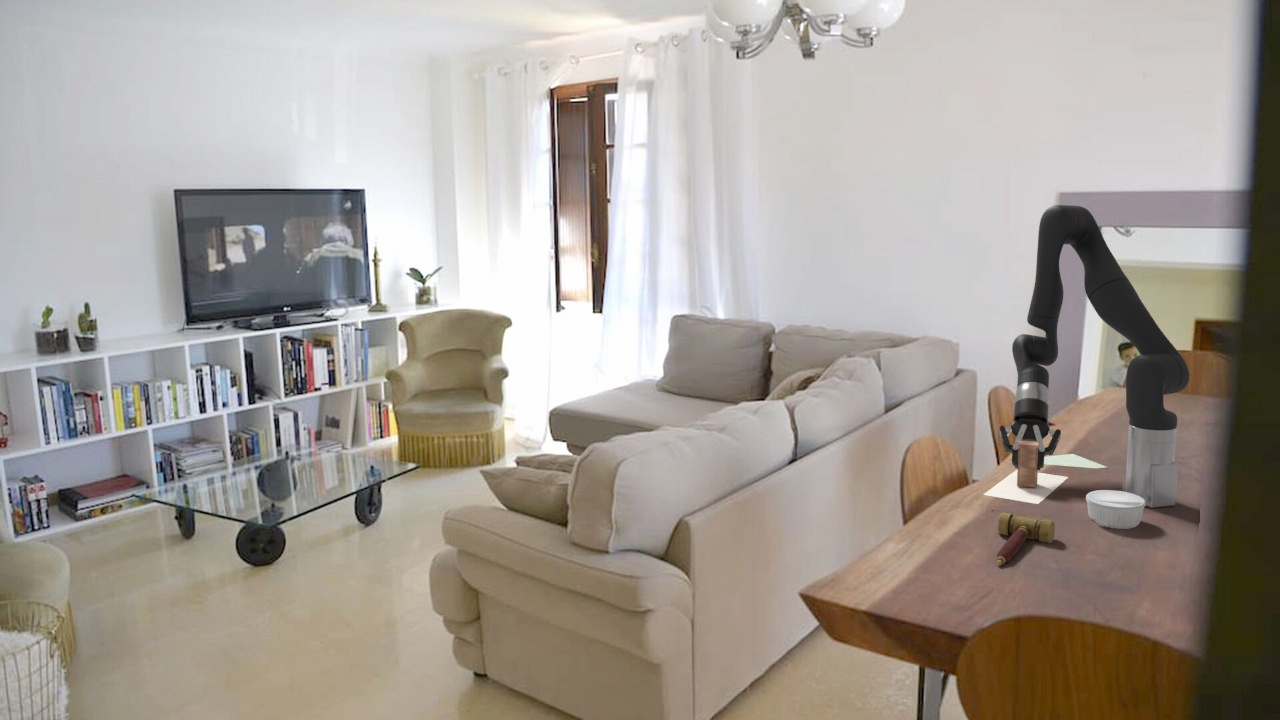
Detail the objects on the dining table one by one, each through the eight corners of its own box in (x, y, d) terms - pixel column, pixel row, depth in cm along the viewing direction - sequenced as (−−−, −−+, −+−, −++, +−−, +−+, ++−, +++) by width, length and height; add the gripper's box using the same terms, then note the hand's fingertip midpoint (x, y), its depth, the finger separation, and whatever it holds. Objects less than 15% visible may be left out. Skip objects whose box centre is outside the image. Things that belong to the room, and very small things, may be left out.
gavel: (1026, 557, 171) (971, 547, 177) (1026, 580, 172) (971, 569, 178) (1055, 517, 188) (1004, 509, 194) (1055, 538, 189) (1003, 529, 195)
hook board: (1037, 508, 206) (1039, 477, 205) (982, 498, 213) (983, 469, 212) (1068, 481, 224) (1069, 452, 223) (1016, 473, 232) (1017, 445, 230)
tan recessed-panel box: (1037, 482, 220) (1038, 441, 218) (1036, 487, 216) (1038, 445, 214) (1017, 480, 221) (1019, 439, 220) (1016, 485, 218) (1018, 444, 216)
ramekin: (1111, 534, 190) (1113, 509, 189) (1072, 516, 200) (1073, 493, 200) (1157, 527, 193) (1158, 502, 192) (1116, 510, 203) (1117, 487, 202)
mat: (1107, 468, 233) (1107, 467, 233) (1061, 473, 230) (1061, 472, 230) (1072, 455, 245) (1072, 453, 245) (1028, 459, 243) (1028, 458, 243)
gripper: (999, 395, 225) (994, 457, 216) (1064, 398, 219) (1061, 462, 210) (1000, 411, 231) (995, 473, 222) (1063, 415, 225) (1061, 478, 216)
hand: (1027, 467), depth 216 cm, fingers closed on tan recessed-panel box, 4 cm apart
